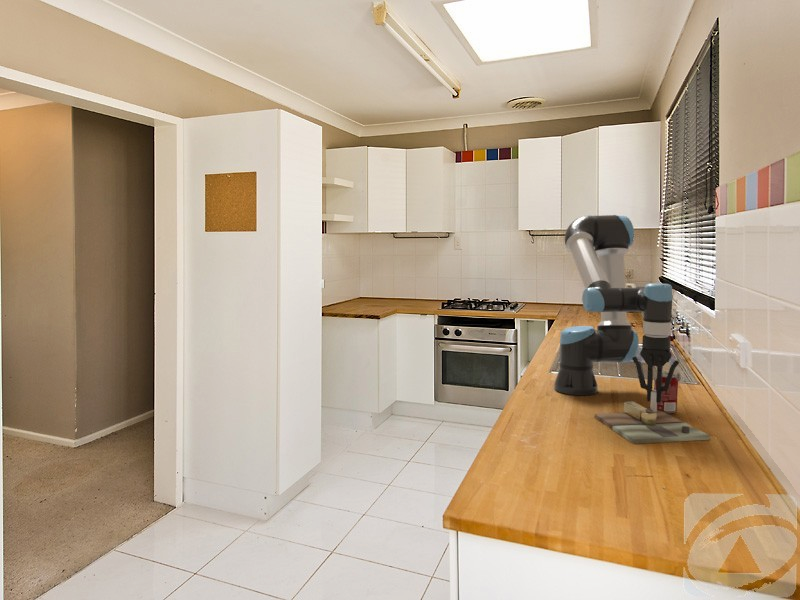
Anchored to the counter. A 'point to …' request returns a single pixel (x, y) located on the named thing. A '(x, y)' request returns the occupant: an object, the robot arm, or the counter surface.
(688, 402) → the counter surface
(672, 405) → the soda can
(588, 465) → the counter surface
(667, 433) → the latch board
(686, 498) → the counter surface
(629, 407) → the swing bar
